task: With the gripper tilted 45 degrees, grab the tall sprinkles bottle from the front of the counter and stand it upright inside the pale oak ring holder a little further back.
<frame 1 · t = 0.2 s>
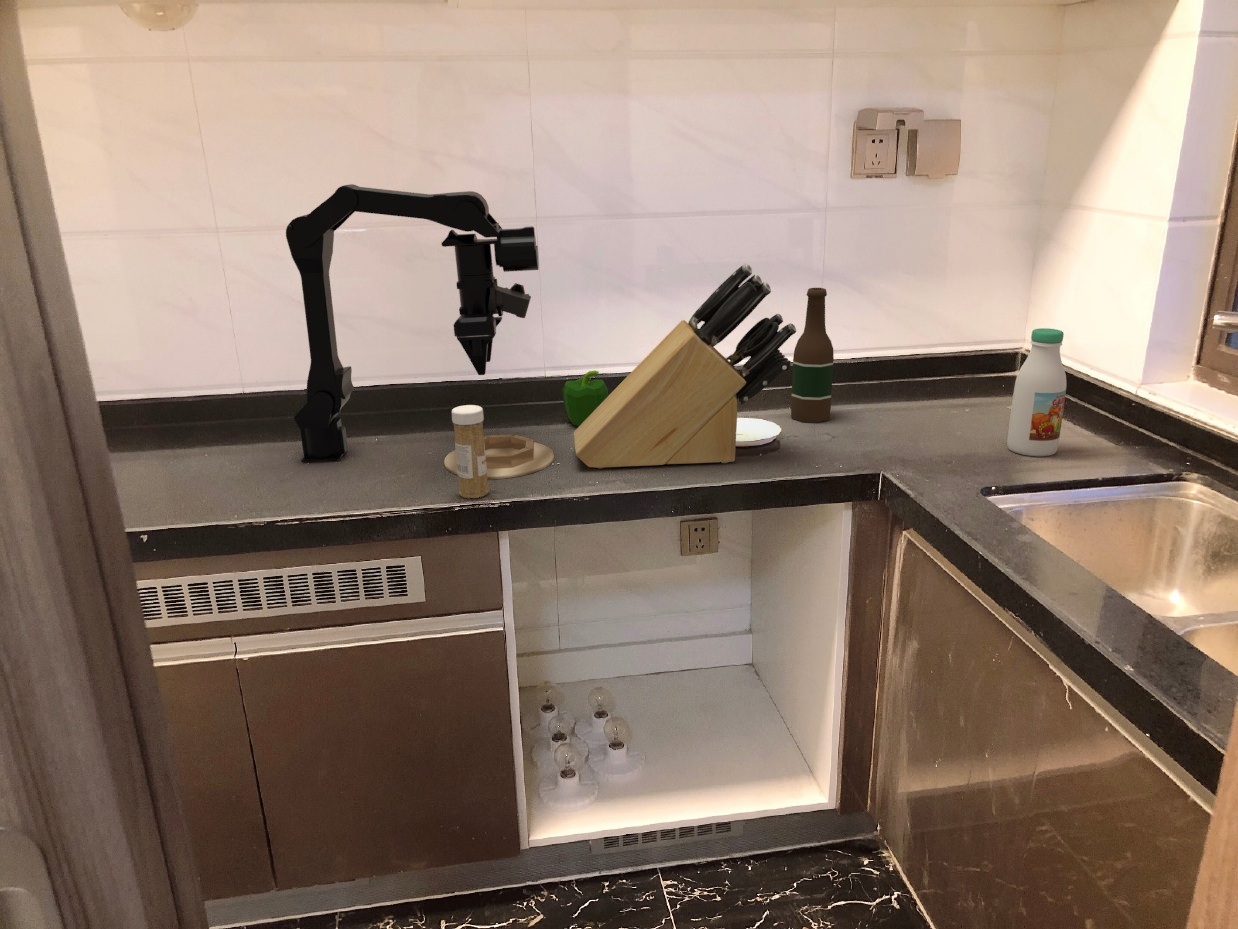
hand: (484, 368, 152), 14 cm above the counter, tool pointing down, fingers open, 9 cm apart
beer bottle: (810, 418, 172), on the counter
bell pepper: (585, 424, 171), on the counter
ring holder: (499, 460, 152), on the counter
sprinkles bottle: (474, 495, 138), on the counter
knife block: (680, 457, 153), on the counter
milk bottle: (1031, 451, 152), on the counter
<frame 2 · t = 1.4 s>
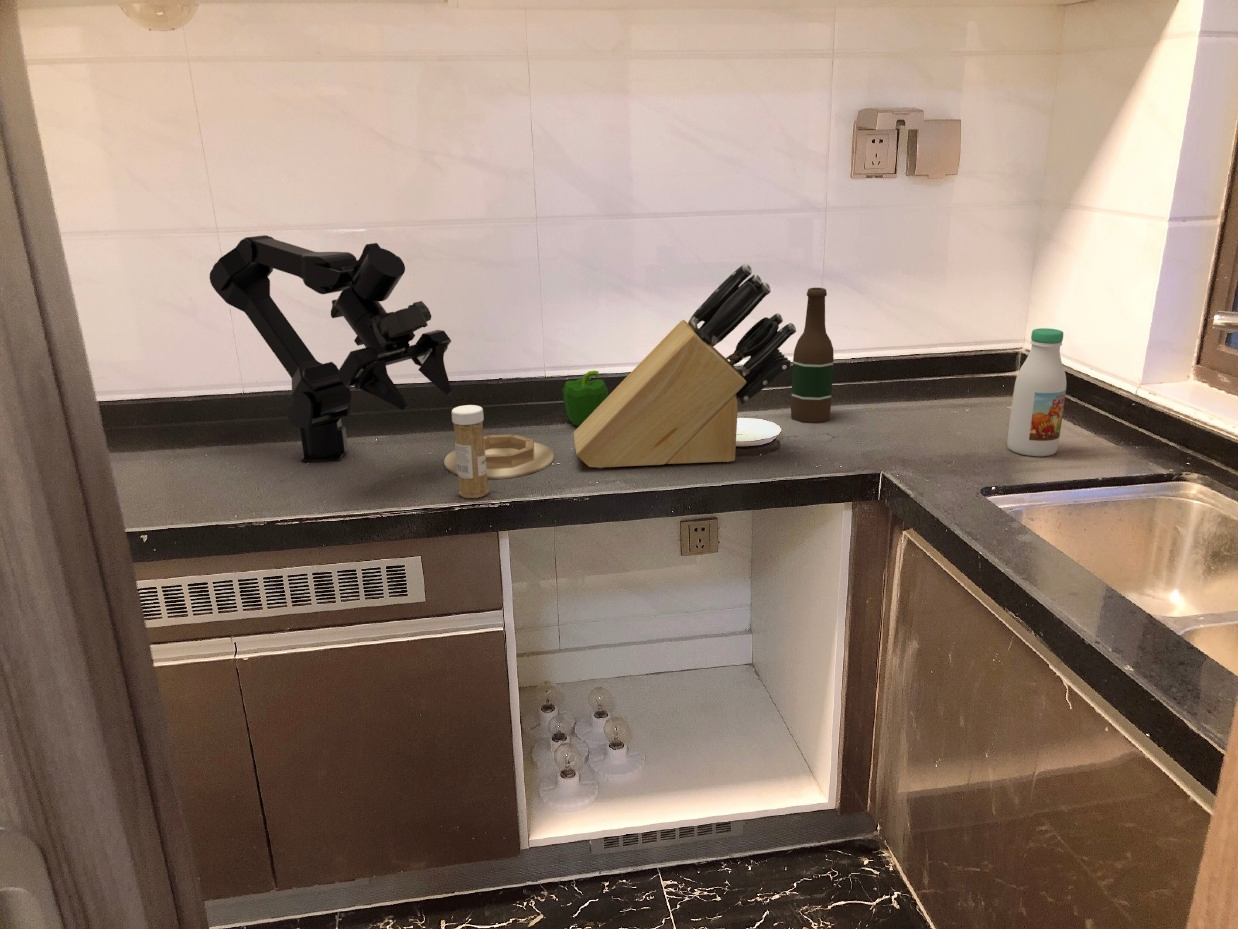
hand: (428, 400, 138), 13 cm above the counter, tool tilted 45°, fingers open, 9 cm apart
nothing on the counter moved.
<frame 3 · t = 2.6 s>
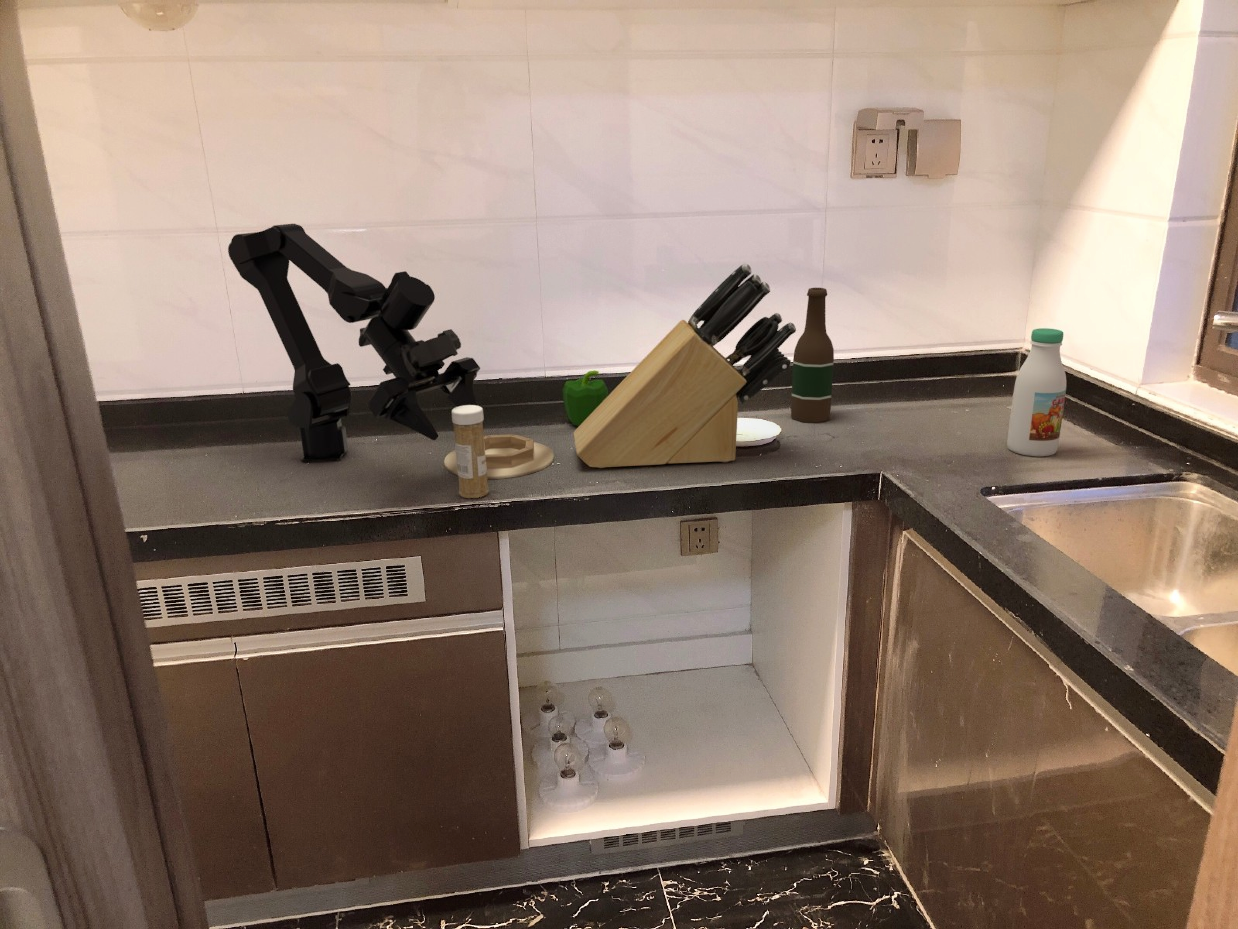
hand: (458, 430, 136), 10 cm above the counter, tool tilted 45°, fingers open, 9 cm apart
nothing on the counter moved.
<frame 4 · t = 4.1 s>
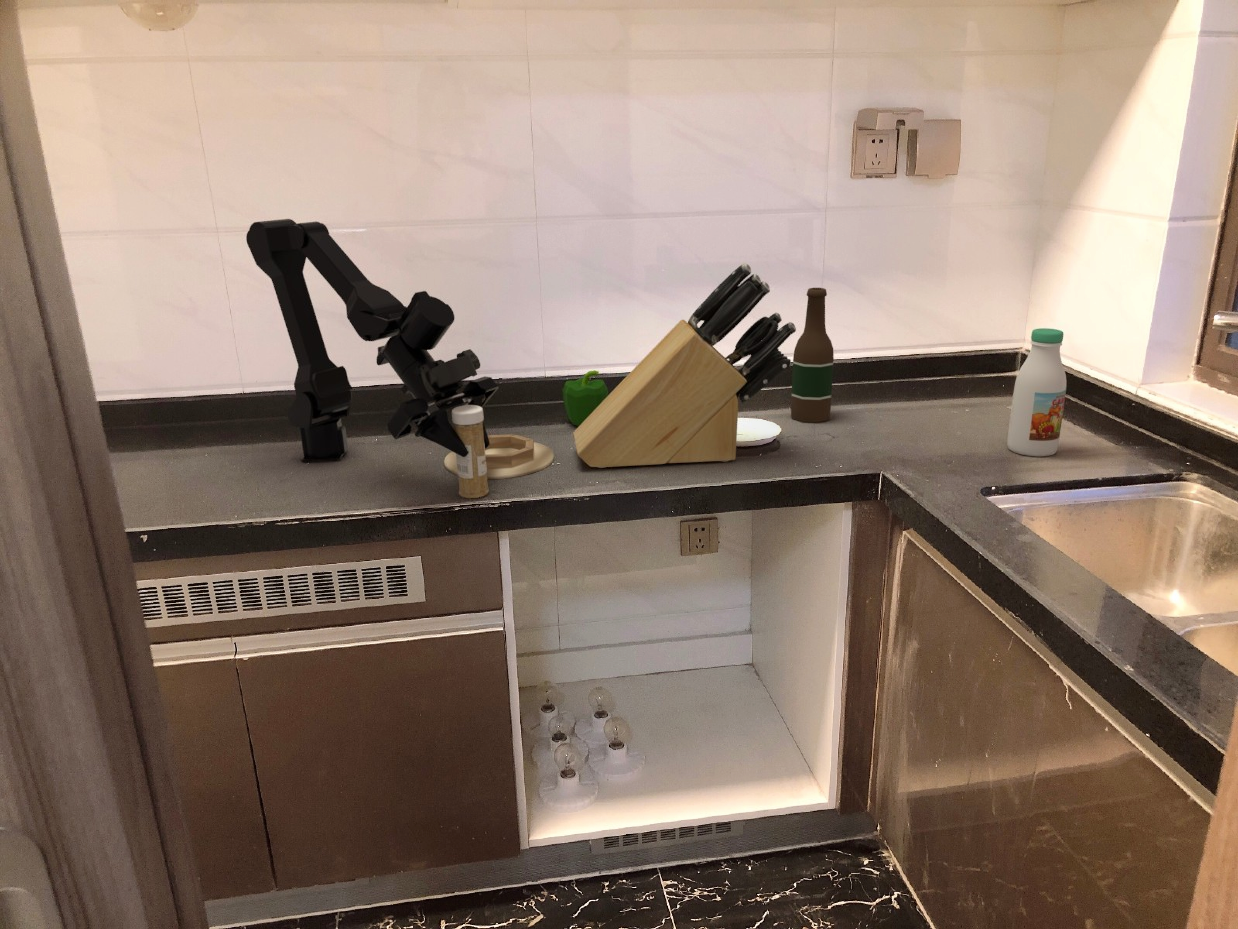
hand: (477, 451, 135), 7 cm above the counter, tool tilted 45°, fingers closed on sprinkles bottle, 4 cm apart
sprinkles bottle: (474, 495, 138), on the counter, touching gripper
everything else where it was.
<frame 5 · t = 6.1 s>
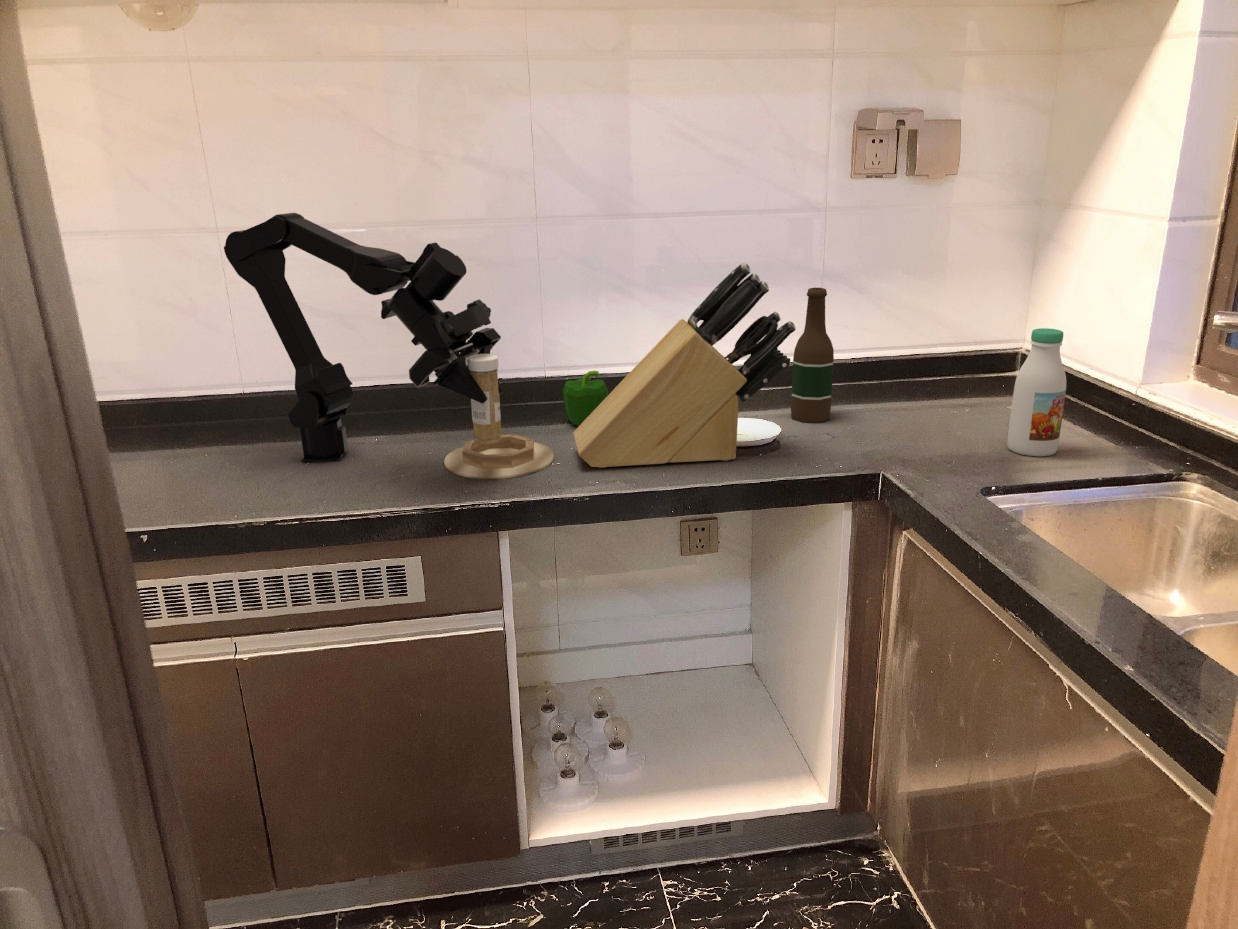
hand: (492, 397, 140), 13 cm above the counter, tool tilted 45°, fingers closed on sprinkles bottle, 4 cm apart
sprinkles bottle: (487, 441, 143), point 6 cm above the counter, touching gripper
everything else where it was.
when the fingers open (8 cm above the counter, at t = 8.3 s): sprinkles bottle stays where it is, resting on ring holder.
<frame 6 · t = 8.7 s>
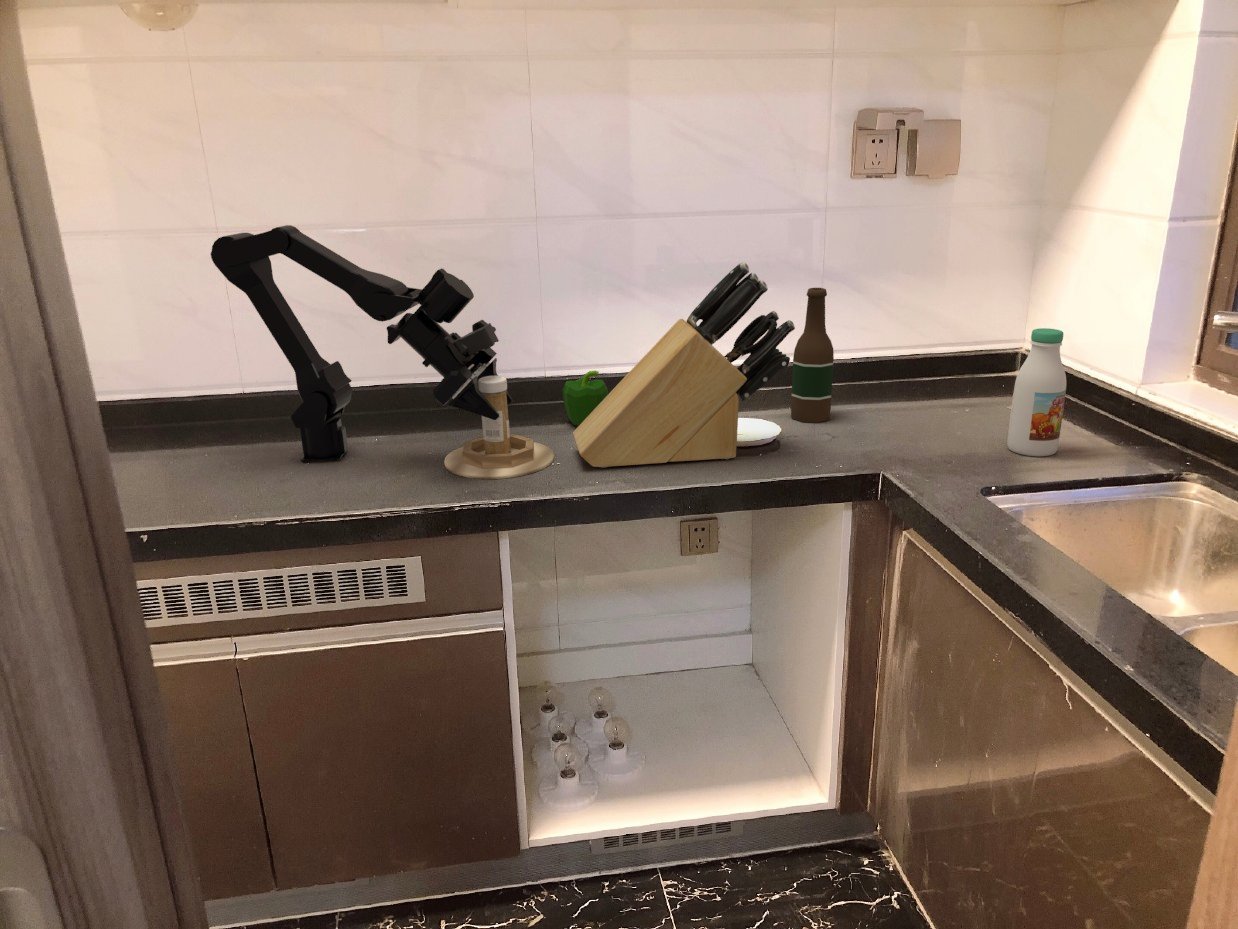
hand: (504, 410, 149), 9 cm above the counter, tool tilted 45°, fingers open, 8 cm apart
sprinkles bottle: (498, 457, 152), resting on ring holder
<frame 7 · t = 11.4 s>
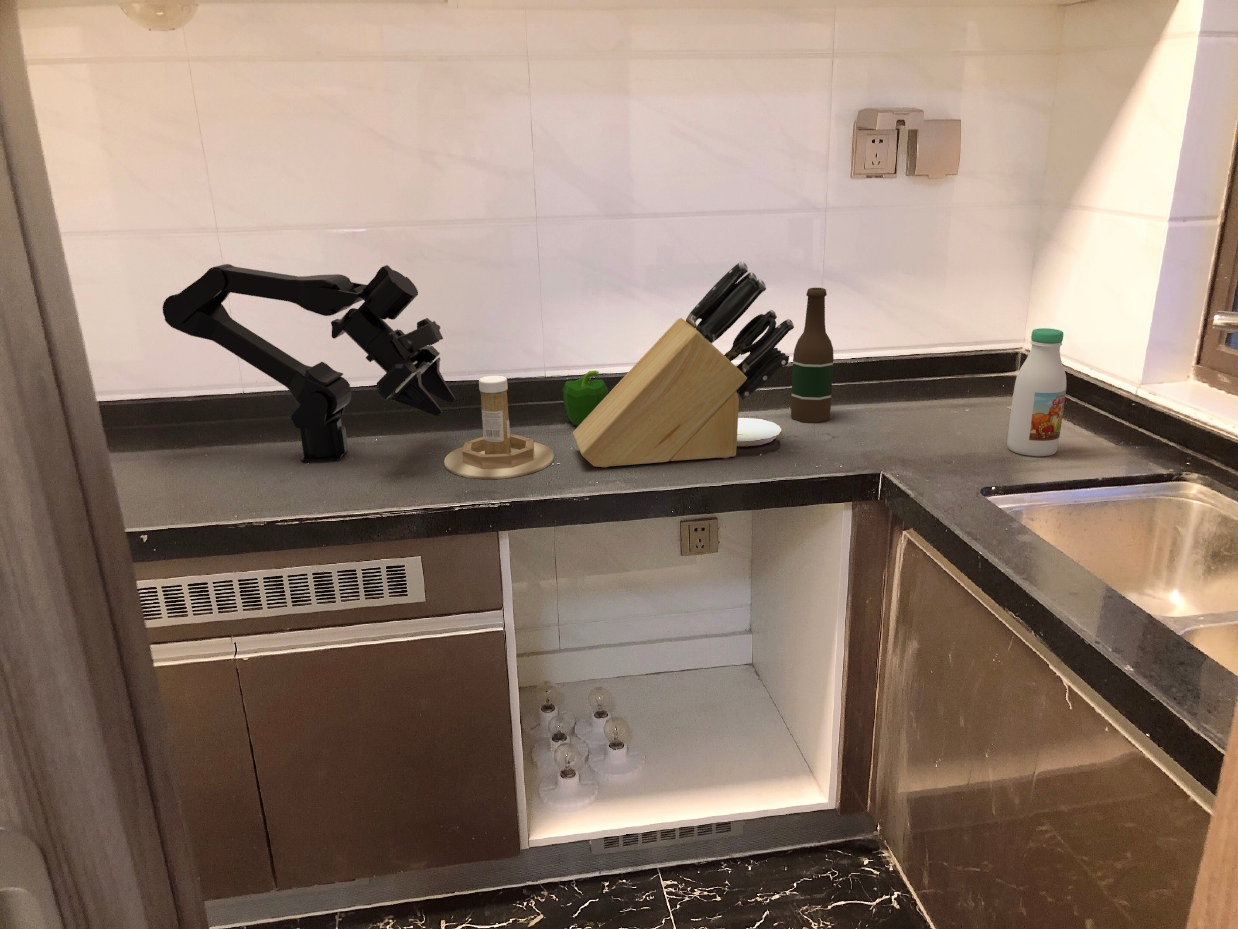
hand: (446, 407, 151), 9 cm above the counter, tool tilted 45°, fingers open, 9 cm apart
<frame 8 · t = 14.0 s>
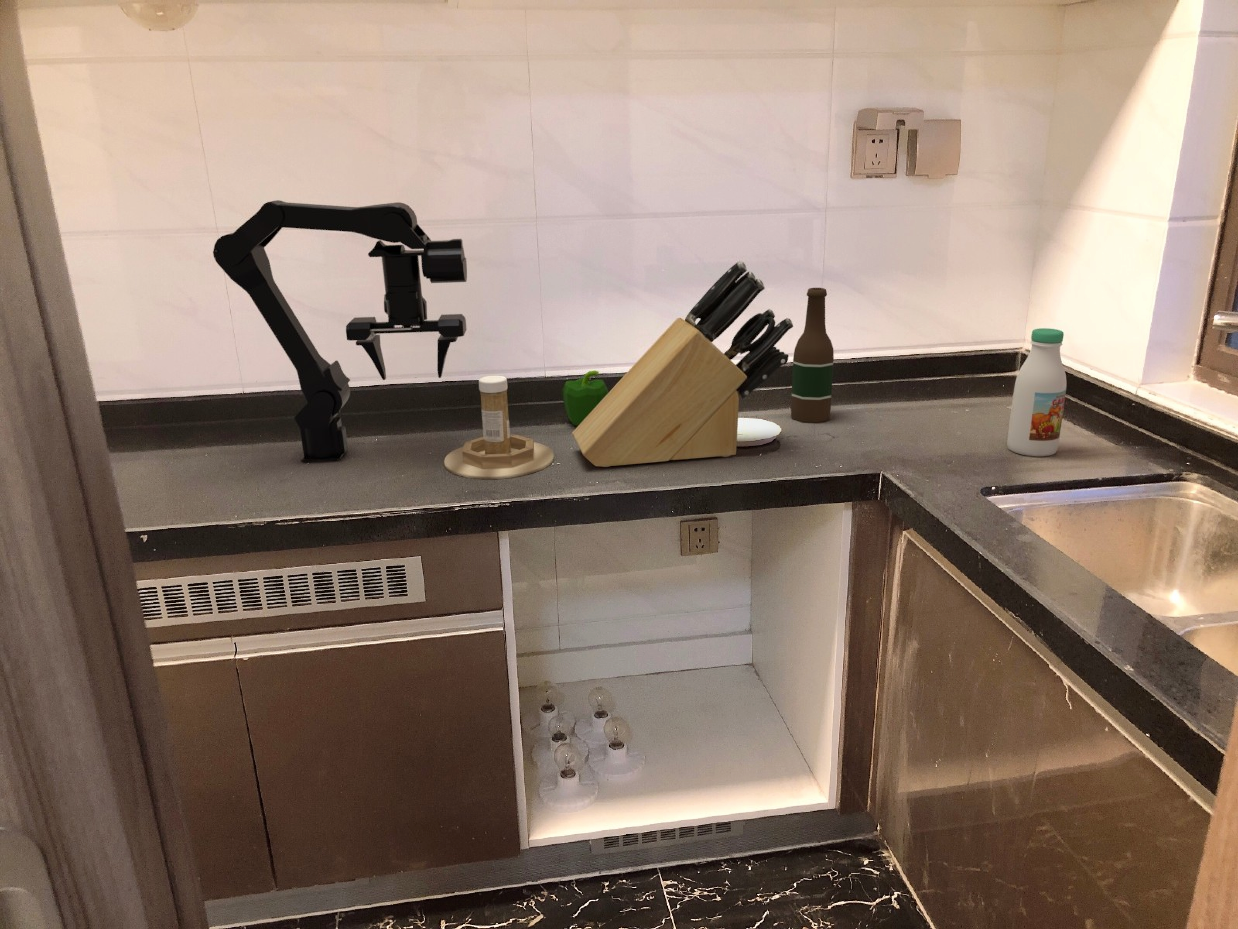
hand: (412, 378, 153), 13 cm above the counter, tool pointing down, fingers open, 9 cm apart
at the end: sprinkles bottle 0.2 cm off-centre on the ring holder, point 0.4 cm above the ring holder's base; sprinkles bottle tilted 0°; the gripper is holding nothing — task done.
